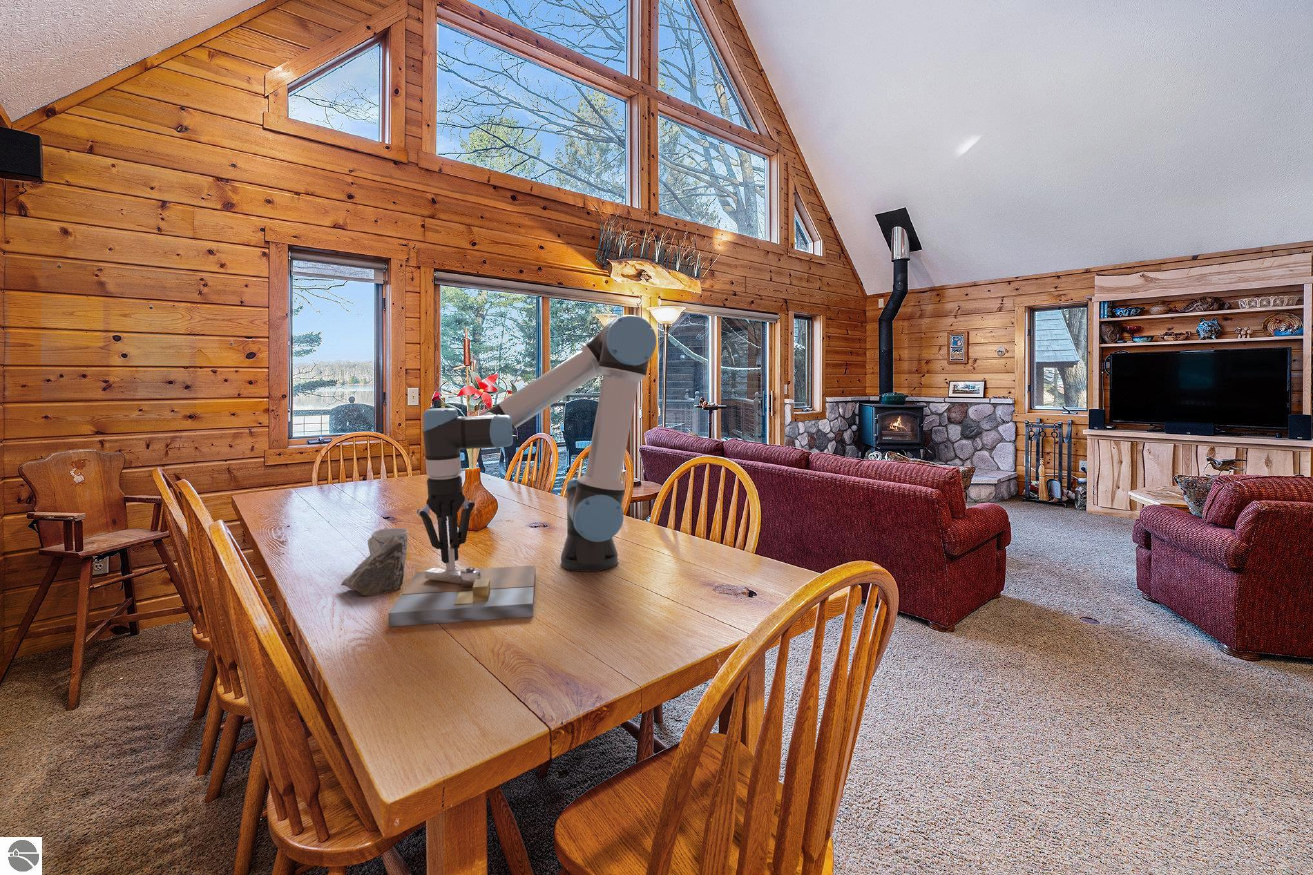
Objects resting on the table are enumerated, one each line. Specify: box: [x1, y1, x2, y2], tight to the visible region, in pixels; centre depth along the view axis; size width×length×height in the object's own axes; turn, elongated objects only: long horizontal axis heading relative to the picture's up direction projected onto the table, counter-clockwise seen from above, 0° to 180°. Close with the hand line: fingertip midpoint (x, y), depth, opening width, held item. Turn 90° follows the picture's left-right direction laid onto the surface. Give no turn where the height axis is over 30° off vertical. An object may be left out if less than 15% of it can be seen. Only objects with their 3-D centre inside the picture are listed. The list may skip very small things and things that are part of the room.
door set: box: [387, 565, 537, 628], centre depth 132 cm, size 28×26×6 cm
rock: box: [340, 535, 405, 596], centre depth 139 cm, size 12×8×15 cm, turn 129°
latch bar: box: [424, 566, 481, 587], centre depth 134 cm, size 14×4×3 cm, turn 71°
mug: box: [367, 527, 409, 568], centre depth 152 cm, size 11×8×10 cm
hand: (451, 574), depth 138 cm, fingers closed
